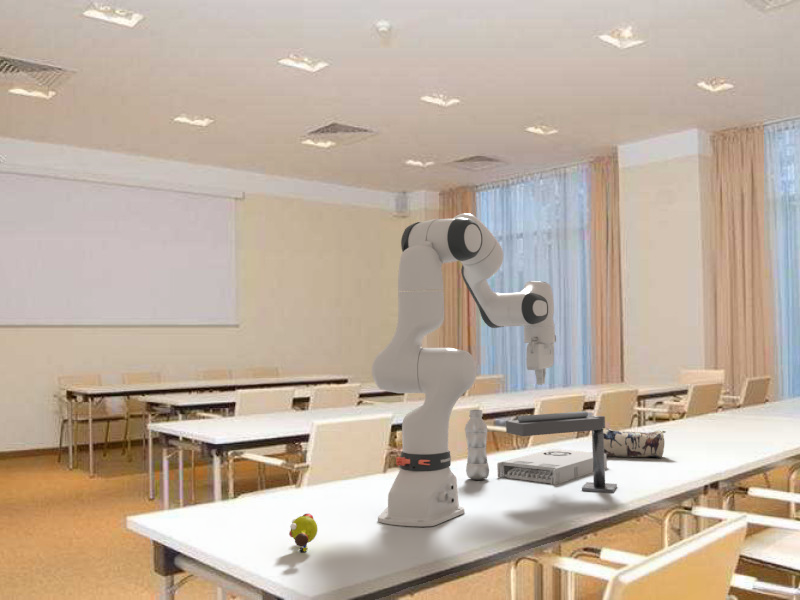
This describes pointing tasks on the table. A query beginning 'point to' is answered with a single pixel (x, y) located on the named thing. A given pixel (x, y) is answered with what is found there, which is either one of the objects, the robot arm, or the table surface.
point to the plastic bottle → (476, 446)
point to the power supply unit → (549, 466)
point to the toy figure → (303, 530)
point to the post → (598, 466)
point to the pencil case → (633, 444)
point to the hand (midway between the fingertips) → (540, 384)
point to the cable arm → (554, 423)
